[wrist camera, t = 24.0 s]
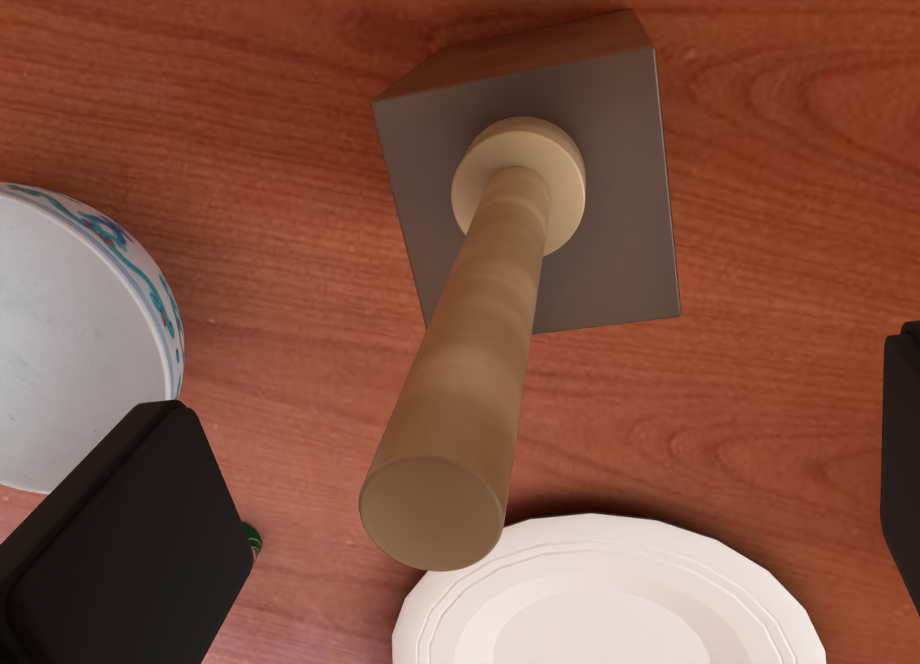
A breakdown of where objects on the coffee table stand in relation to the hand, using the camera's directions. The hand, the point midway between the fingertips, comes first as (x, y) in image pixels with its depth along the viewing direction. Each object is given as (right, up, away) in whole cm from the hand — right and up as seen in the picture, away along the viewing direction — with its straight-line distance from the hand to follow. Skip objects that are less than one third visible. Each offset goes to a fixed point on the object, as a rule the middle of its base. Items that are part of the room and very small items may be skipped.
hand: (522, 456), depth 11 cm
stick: (+1, +6, +12) cm, 14 cm away
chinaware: (-19, +4, +30) cm, 36 cm away
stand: (+3, +11, +23) cm, 26 cm away
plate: (+8, -18, +37) cm, 42 cm away
